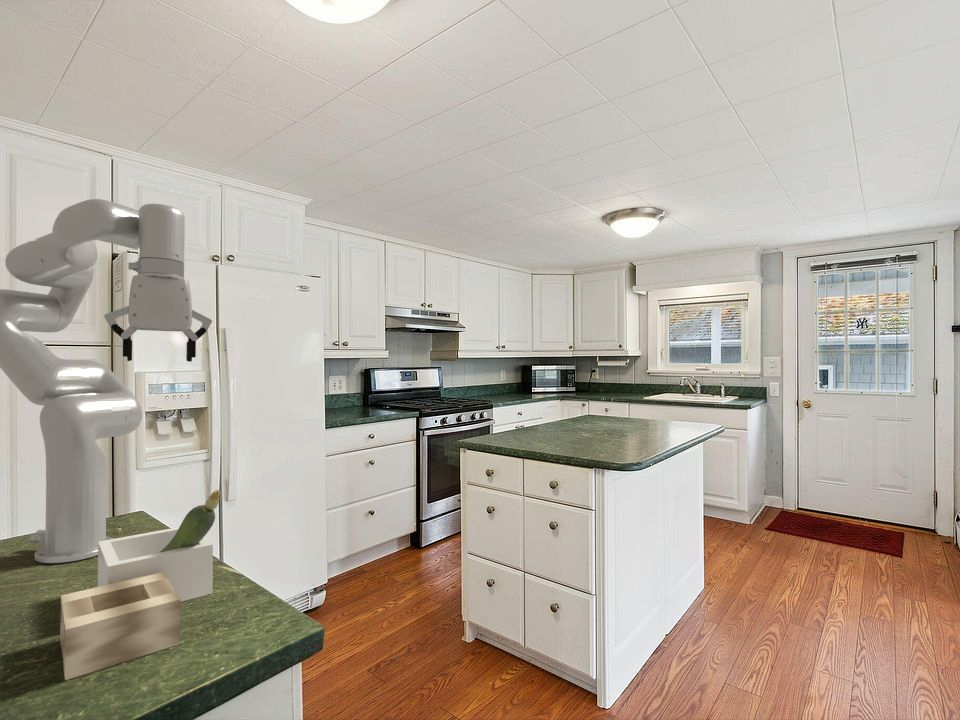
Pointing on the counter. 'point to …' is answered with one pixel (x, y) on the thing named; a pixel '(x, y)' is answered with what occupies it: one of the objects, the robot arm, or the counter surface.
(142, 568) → the bin
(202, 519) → the vegetable
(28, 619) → the counter surface
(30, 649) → the counter surface
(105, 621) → the holder
